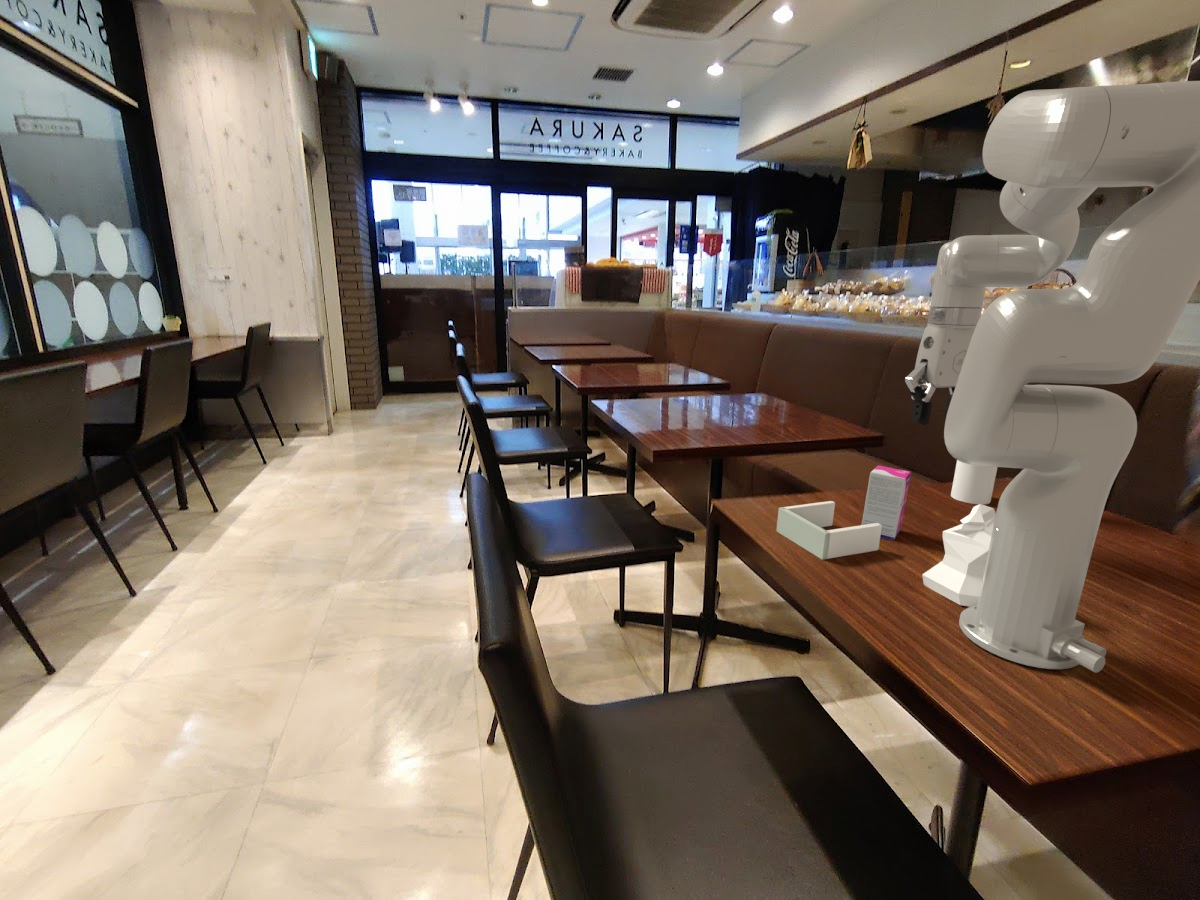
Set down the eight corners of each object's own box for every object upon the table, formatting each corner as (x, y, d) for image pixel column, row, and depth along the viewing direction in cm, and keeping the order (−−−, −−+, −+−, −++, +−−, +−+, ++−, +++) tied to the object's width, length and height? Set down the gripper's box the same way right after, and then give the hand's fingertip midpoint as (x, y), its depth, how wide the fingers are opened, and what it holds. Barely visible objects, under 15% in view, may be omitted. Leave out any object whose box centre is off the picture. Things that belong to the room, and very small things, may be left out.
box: (878, 550, 97) (882, 525, 96) (822, 559, 93) (825, 533, 92) (828, 523, 108) (831, 500, 107) (776, 531, 104) (778, 507, 103)
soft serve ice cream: (991, 638, 75) (979, 539, 72) (909, 590, 90) (896, 506, 86) (1071, 606, 77) (1063, 508, 74) (978, 564, 91) (968, 481, 88)
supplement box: (895, 541, 100) (905, 478, 97) (859, 532, 104) (867, 471, 101) (902, 530, 105) (912, 470, 102) (867, 522, 108) (875, 464, 105)
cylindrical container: (998, 504, 119) (1023, 383, 112) (963, 504, 119) (986, 382, 112) (977, 493, 126) (999, 377, 119) (943, 492, 126) (964, 377, 119)
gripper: (934, 320, 91) (916, 430, 96) (1012, 319, 97) (991, 423, 102) (895, 317, 98) (881, 420, 103) (971, 317, 104) (953, 414, 108)
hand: (936, 421), depth 102 cm, fingers open, 7 cm apart
